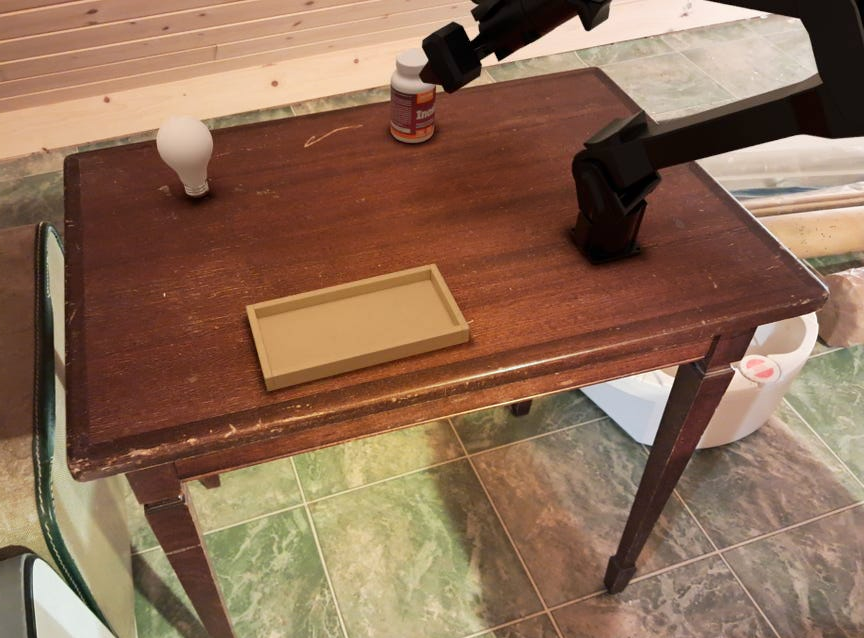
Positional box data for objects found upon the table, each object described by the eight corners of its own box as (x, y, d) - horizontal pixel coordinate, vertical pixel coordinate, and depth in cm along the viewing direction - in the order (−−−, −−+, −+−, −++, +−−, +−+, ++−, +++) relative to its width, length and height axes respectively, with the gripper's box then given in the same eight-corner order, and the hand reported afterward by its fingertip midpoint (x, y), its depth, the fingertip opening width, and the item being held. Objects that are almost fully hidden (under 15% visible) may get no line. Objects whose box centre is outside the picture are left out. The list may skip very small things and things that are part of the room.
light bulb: (228, 180, 96) (211, 103, 87) (219, 211, 91) (201, 134, 83) (178, 180, 96) (157, 104, 87) (167, 211, 92) (144, 134, 83)
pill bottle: (421, 149, 100) (423, 73, 91) (382, 137, 102) (381, 62, 93) (441, 127, 103) (445, 52, 95) (403, 116, 105) (404, 42, 97)
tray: (434, 276, 83) (435, 262, 81) (468, 341, 76) (470, 328, 75) (248, 319, 79) (245, 305, 77) (267, 391, 72) (264, 378, 71)
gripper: (557, -100, 76) (462, -26, 89) (444, -46, 67) (358, 27, 80) (601, 1, 79) (503, 58, 92) (499, 66, 70) (407, 119, 83)
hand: (446, 63), depth 87 cm, fingers open, 9 cm apart
